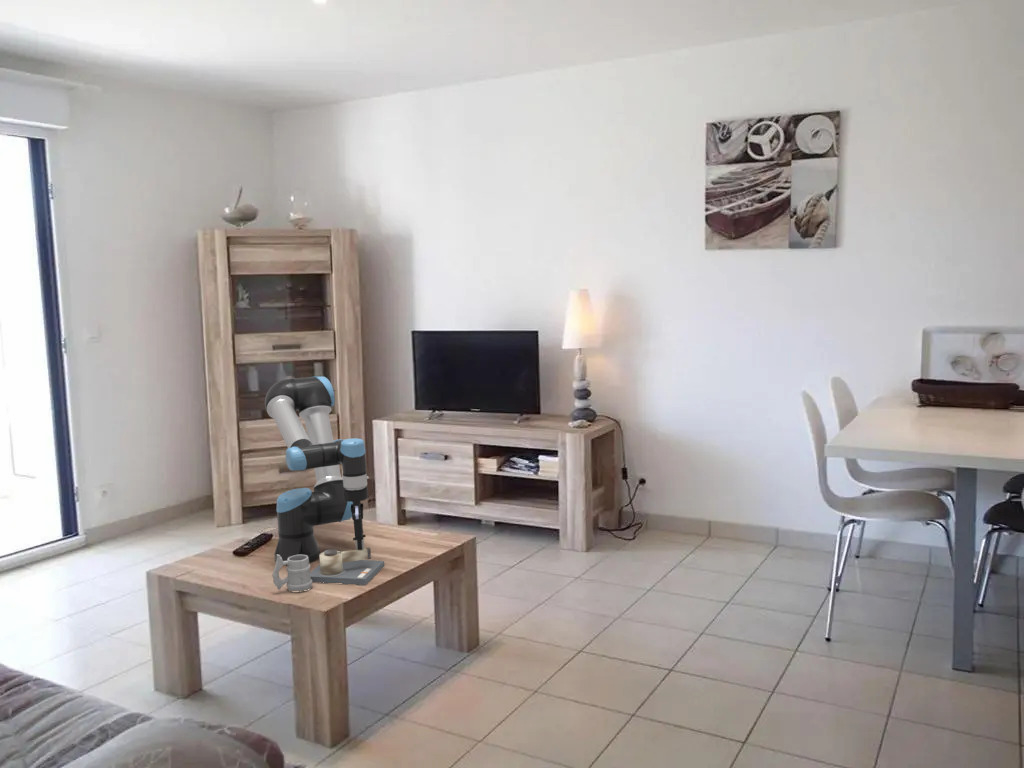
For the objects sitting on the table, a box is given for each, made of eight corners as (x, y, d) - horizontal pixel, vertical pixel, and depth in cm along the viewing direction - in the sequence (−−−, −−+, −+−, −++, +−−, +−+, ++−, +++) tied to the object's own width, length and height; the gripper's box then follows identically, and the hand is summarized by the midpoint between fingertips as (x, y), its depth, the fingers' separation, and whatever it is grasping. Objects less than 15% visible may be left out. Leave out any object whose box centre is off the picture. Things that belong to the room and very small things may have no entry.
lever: (322, 576, 265) (320, 555, 264) (319, 569, 272) (317, 549, 271) (372, 569, 270) (371, 548, 270) (368, 562, 277) (367, 542, 276)
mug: (315, 589, 260) (313, 552, 259) (276, 597, 255) (274, 559, 253) (308, 582, 267) (306, 545, 265) (270, 590, 261) (268, 552, 260)
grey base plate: (305, 582, 267) (305, 574, 266) (327, 564, 283) (327, 557, 283) (365, 585, 263) (365, 577, 262) (384, 566, 279) (384, 559, 279)
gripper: (367, 491, 265) (372, 563, 268) (367, 481, 278) (372, 550, 281) (342, 493, 264) (348, 566, 267) (344, 483, 277) (349, 553, 280)
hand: (360, 558), depth 274 cm, fingers closed
